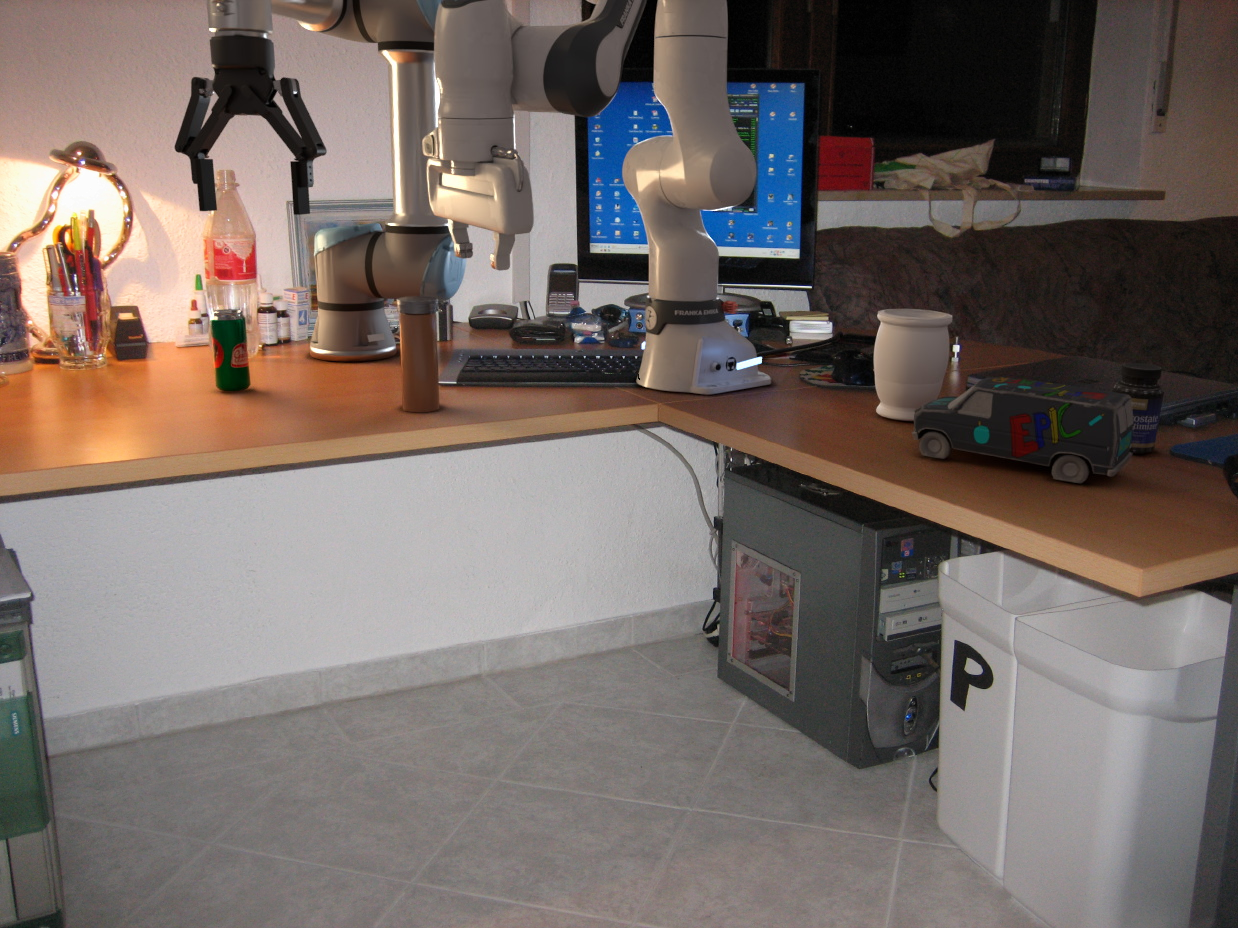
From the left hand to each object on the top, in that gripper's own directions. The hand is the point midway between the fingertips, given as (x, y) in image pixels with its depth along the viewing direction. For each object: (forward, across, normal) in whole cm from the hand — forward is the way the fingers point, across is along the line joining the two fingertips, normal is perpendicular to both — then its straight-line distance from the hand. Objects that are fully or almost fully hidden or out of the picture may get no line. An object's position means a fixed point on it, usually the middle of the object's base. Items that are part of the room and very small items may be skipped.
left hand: (254, 213), depth 138 cm
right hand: (+5, +33, -4) cm, 33 cm away
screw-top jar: (+28, +16, +14) cm, 35 cm away
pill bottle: (+28, +113, +23) cm, 118 cm away
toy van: (+28, +98, +11) cm, 102 cm away
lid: (+12, +16, +14) cm, 25 cm away
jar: (+28, +84, +32) cm, 94 cm away
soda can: (+28, -16, +16) cm, 36 cm away
